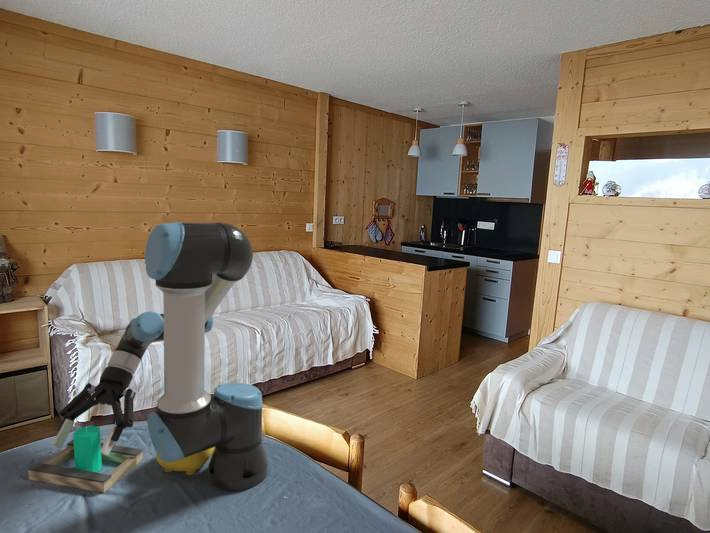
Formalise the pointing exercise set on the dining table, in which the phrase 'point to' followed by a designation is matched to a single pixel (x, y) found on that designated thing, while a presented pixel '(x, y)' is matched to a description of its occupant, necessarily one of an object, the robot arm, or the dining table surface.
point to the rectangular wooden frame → (83, 478)
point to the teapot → (187, 462)
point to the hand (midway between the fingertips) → (79, 450)
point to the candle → (87, 448)
